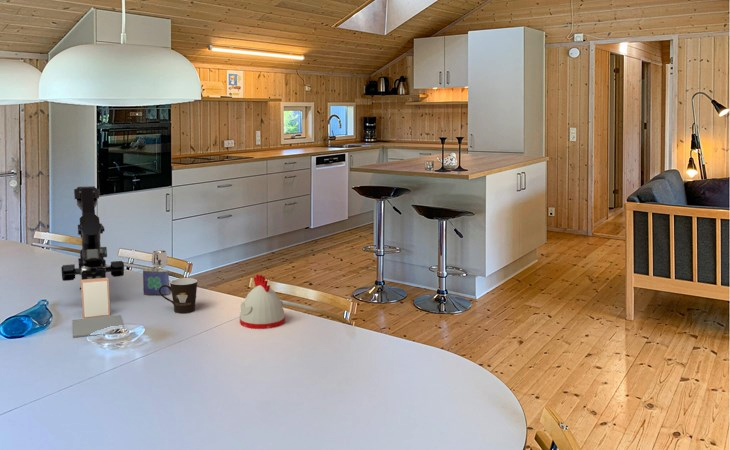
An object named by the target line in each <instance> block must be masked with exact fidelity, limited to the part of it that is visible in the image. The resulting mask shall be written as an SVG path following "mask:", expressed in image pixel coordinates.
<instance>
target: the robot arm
mask: <svg viewBox="0 0 730 450" xmlns="http://www.w3.org/2000/svg"><path fill="white" fill-rule="evenodd" d="M99 191H100V189H99V188H97V187H96V186H93V185H92V186H77V187H76V188H74V189H73V194H74V200H76V206H77V207H78V208H79V209H80V210H81V216H80V217H79V224H77V235H79V236H80V238H81V250H80V252H79V257H80V258H77V259H78V261H77V263H78V268H76V266H75V265H76V264H75V263H74V264H63V265H62V266H61V279H62V281H64V282H68V281H74V280H75V279H76V276H80V277H81V280H85V279H97V278H107V275H106V274H107V273H110V275H111V276H112V277H113V278H114V277H115V278H116V277H117V278H119V277H123V276H124V275H125V274H124V273H125V263H124V262H123V261H122V260H114V261H113V260H112V261H110V265H106V260H105V258H108V249H107V246H102V245H101V235H102V234H104V232H105V226H104V225H103V224H102V222H100V217H99V215H97V214H96V212H95V211H96V207H97V205H98V199H100V192H99ZM79 290H81V287H79Z"/></svg>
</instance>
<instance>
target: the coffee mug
mask: <svg viewBox="0 0 730 450" xmlns="http://www.w3.org/2000/svg"><path fill="white" fill-rule="evenodd" d="M162 287H168V288H169V292H171V297H172V298H171V299H172V300H171V299H170V298H169V297H166V295H164V296H163V294H162V293H161V288H162ZM197 289H198V280H197V279H196V278H193V277H182V278H175V279H171V280H169V286H168V285H163V286H161V287H160V288H159V293H160V295H161V296H160V297H162V298H163V299H165V300H167V301H168V302H170V303H171V304H173V305H172V306H173V309H174V313H175V314H180V315H182V314H183V315H184V314H190V313H194V312H195V311H196V301H197V300H196V299H197V291H198V290H197Z"/></svg>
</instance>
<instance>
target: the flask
mask: <svg viewBox="0 0 730 450" xmlns="http://www.w3.org/2000/svg"><path fill="white" fill-rule="evenodd" d="M152 267H153V268H150V267H148V268H146V269H143V271H142V280H143V283H142V284H143V287H142V289H143V290H142V291H143V295H144V296H159V297H162V296H161V295H160V293H159V288H160V287H161V286H163V285H168V286H170V279H169V278H170V277H169V274H170V273H169V270H168V269H161V270H159V269H158V268H157V267H158V266H157V265H156V266H152ZM161 293H162V294H163V296H169V295H170V289H169V288H168V287H162V288H161Z"/></svg>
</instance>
